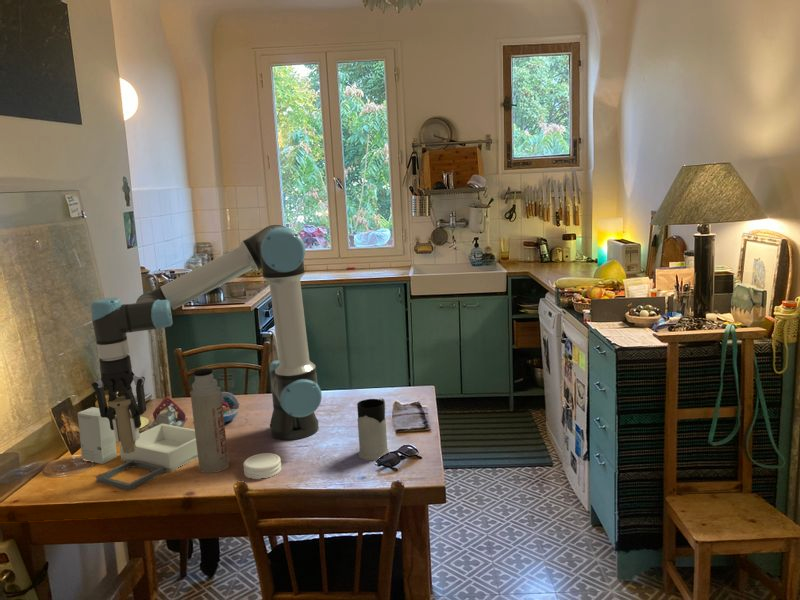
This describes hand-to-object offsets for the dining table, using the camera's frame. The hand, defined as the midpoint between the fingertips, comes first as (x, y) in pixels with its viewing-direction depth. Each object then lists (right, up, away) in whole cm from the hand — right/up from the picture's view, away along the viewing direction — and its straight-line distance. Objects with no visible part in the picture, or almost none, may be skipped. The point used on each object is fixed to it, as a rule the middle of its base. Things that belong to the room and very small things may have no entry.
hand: (128, 439), depth 184 cm
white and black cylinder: (+67, -5, +11) cm, 68 cm away
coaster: (+36, -9, +1) cm, 37 cm away
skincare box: (-14, -9, +15) cm, 23 cm away
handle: (0, -3, 0) cm, 4 cm away
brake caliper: (0, -4, +36) cm, 36 cm away
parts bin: (+5, -8, +15) cm, 18 cm away
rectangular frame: (0, -11, +2) cm, 11 cm away
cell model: (+16, -2, +40) cm, 43 cm away
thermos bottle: (+22, -9, +6) cm, 24 cm away
